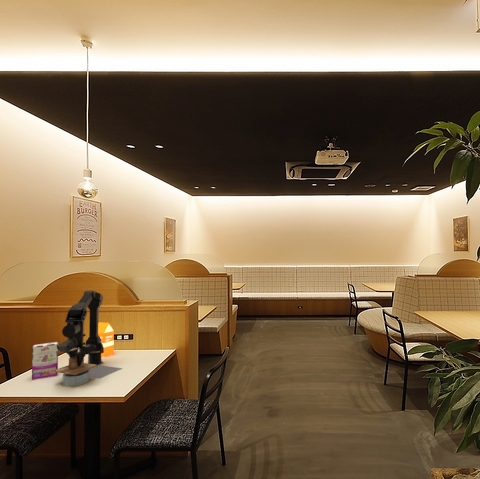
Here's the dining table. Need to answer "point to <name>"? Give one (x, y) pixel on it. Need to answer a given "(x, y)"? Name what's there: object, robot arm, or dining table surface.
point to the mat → (102, 371)
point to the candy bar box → (44, 360)
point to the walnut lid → (75, 367)
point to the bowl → (75, 378)
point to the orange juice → (106, 338)
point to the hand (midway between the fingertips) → (76, 365)
